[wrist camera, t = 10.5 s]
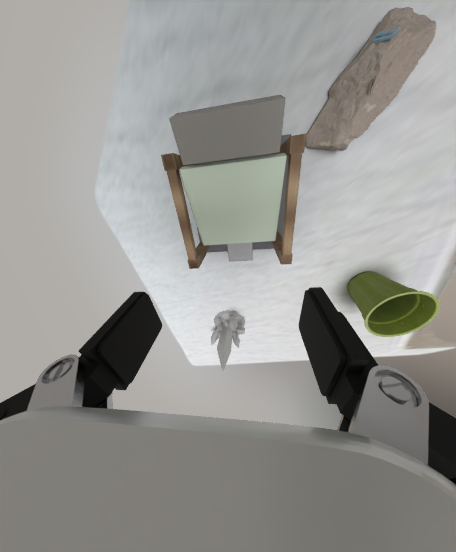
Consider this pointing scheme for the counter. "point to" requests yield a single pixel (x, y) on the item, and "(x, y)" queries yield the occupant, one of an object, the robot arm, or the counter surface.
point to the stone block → (240, 252)
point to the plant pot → (391, 305)
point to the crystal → (227, 333)
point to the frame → (284, 245)
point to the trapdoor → (233, 168)
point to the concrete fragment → (372, 79)
